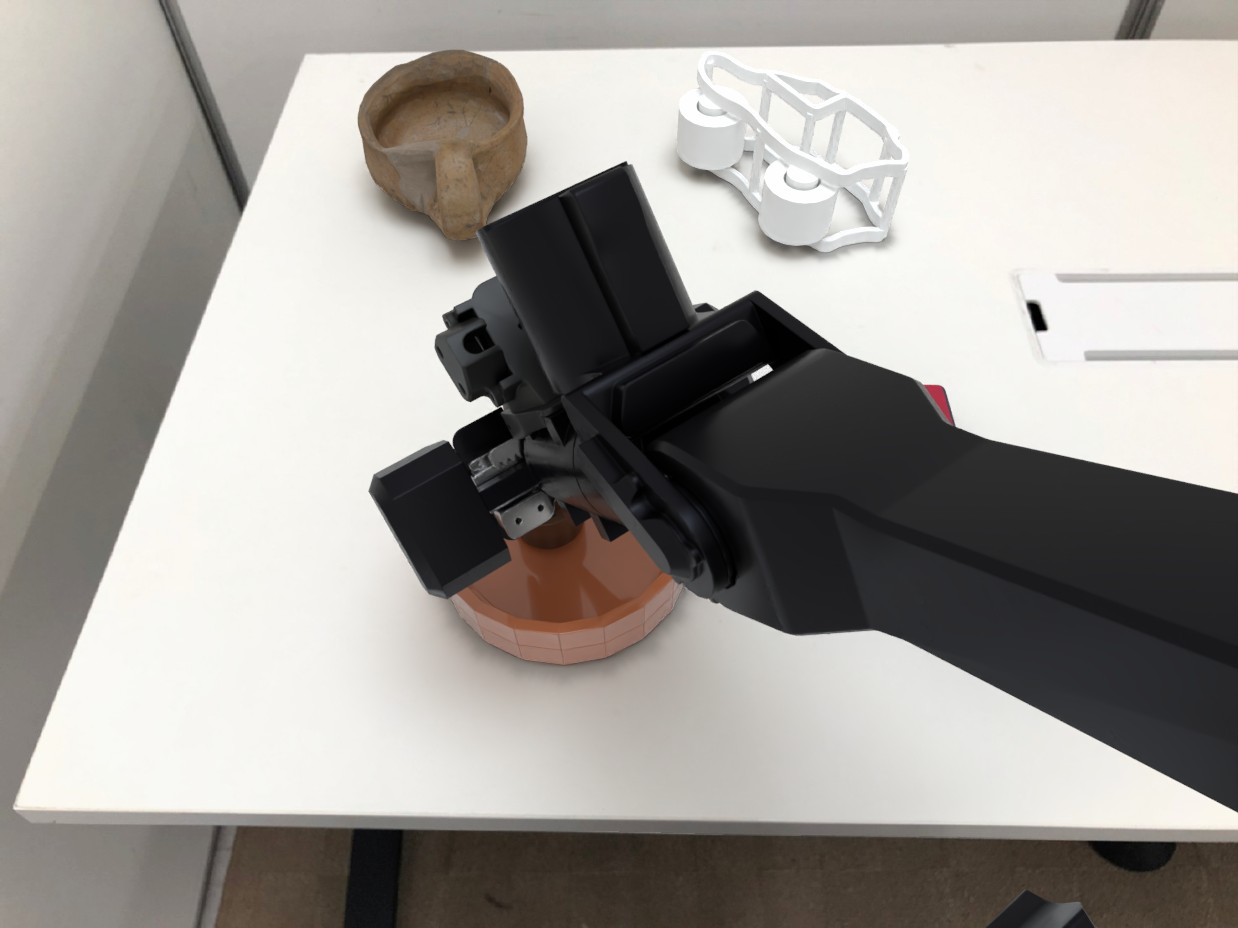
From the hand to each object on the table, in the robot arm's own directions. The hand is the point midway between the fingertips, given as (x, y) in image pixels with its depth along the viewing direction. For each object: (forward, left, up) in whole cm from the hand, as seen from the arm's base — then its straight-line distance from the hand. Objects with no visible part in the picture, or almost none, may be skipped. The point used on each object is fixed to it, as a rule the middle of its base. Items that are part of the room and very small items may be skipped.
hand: (524, 433), depth 48 cm
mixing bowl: (-3, -1, -9) cm, 9 cm away
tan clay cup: (+32, +3, -9) cm, 33 cm away
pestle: (-1, -1, -8) cm, 8 cm away
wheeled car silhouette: (+28, -23, -9) cm, 38 cm away
